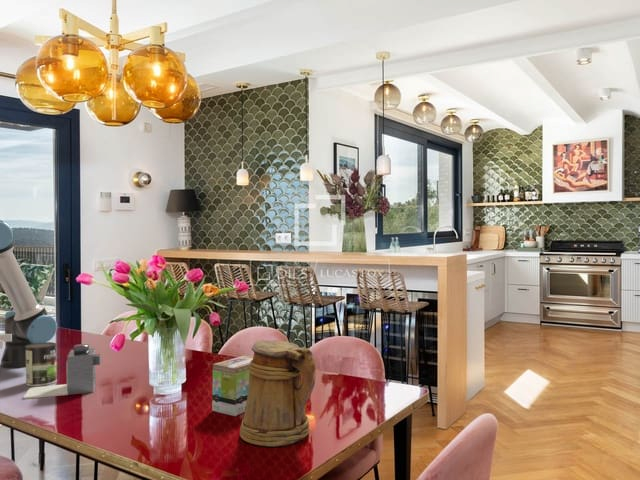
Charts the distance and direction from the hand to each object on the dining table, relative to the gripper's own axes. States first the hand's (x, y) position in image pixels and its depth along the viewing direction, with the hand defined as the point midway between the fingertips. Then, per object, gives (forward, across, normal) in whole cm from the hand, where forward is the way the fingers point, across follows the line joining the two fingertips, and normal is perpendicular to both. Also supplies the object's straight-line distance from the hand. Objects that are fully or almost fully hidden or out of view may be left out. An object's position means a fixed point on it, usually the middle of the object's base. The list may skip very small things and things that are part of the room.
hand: (7, 340), depth 195 cm
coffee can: (+11, 0, -16) cm, 20 cm away
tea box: (+75, +54, -16) cm, 94 cm away
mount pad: (+15, +14, -16) cm, 26 cm away
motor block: (+26, +14, -16) cm, 34 cm away
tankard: (+81, +82, -16) cm, 116 cm away
